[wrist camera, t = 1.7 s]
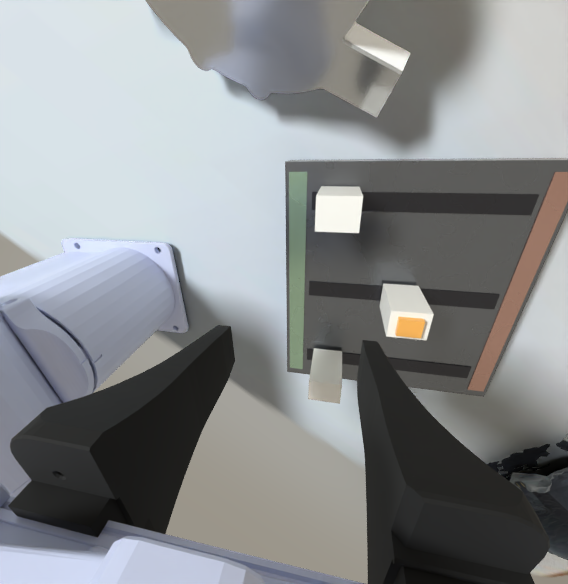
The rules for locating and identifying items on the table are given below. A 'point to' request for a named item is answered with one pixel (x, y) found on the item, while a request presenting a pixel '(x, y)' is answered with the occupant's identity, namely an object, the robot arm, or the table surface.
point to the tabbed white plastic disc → (288, 46)
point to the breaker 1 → (338, 209)
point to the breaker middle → (405, 312)
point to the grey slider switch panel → (421, 260)
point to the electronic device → (543, 493)
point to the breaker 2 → (326, 376)
